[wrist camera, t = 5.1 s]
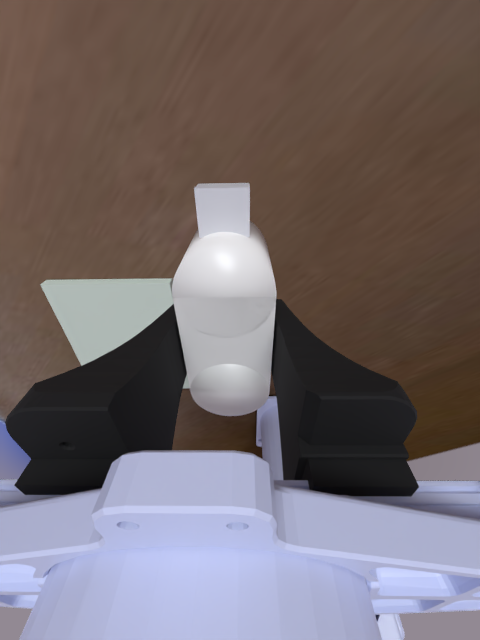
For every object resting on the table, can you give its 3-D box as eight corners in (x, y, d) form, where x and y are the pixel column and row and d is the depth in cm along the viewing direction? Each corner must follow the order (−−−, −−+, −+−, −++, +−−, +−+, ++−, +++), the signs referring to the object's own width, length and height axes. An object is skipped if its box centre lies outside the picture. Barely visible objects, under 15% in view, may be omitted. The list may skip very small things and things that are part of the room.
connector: (262, 359, 16) (267, 416, 13) (204, 359, 16) (195, 416, 13) (271, 176, 10) (283, 195, 7) (181, 178, 11) (153, 197, 7)
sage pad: (191, 382, 27) (189, 388, 27) (96, 382, 28) (93, 388, 27) (172, 278, 21) (169, 283, 20) (46, 279, 21) (40, 284, 20)
